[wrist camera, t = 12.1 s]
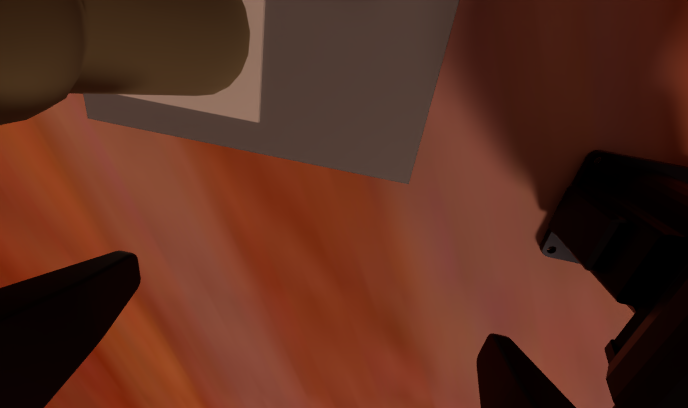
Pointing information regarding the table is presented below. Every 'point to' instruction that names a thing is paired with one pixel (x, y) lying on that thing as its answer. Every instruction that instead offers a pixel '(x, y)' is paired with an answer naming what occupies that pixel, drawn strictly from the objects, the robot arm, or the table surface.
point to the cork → (116, 49)
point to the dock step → (315, 86)
